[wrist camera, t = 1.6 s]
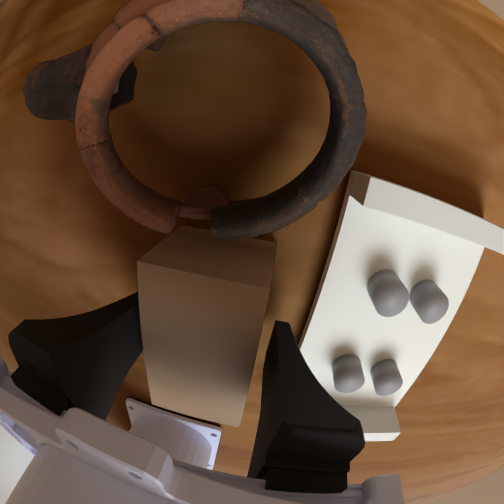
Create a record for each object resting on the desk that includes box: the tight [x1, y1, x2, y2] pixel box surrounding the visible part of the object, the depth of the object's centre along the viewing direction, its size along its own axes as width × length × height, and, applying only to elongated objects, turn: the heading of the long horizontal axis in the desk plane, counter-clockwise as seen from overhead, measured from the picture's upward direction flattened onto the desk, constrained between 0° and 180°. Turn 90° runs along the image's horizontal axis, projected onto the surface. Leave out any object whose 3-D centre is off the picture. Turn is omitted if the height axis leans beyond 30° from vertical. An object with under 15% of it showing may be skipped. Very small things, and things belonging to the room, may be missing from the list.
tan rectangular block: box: [137, 225, 277, 427], centre depth 12 cm, size 8×4×4 cm, turn 172°
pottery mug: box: [23, 0, 367, 241], centre depth 8 cm, size 12×10×8 cm
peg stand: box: [298, 170, 504, 441], centre depth 12 cm, size 14×8×3 cm, turn 169°
